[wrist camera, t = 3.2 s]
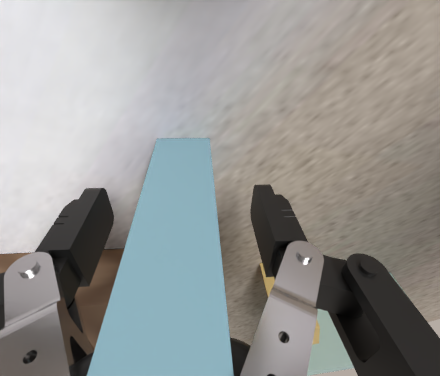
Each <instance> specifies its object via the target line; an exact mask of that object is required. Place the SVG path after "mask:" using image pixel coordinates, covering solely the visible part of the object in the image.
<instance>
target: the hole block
mask: <svg viewBox="0 0 440 376" xmlns="http://www.w3.org/2000/svg"><path fill="white" fill-rule="evenodd" d="M123 252H124V249H109V250H103V252H102V255H101V257H100V260H99V262H98V265H97V268H96V270H95V273H94V275H93V278H92V281H91V283H90V286H89V287H78V289H77V292H76V294H75V296H76V297H77V300H78V304H79V308H80V311H81V315H82V319H83V323H84V326H85V330H86V334H87V337H88V340H89V343H90V345H91V347H92V349H93V352H94V350H95V346H96V343H97V340H98V336H99V333H100V330H101V326H102V323H103V320H104V316H105V313H106V309H107V306H108V303H109V299H110V296H111V293H112V289H113V286H114V282H115V279H116V276H117V272H118V269H119V266H120V262H121V259H122V255H123ZM28 254H31V253H17V254H0V273H4V272H6V271H7V269H8V268H9V267H10V266H11V265H12V264H13V263H14V262H15V261H16V260H18V259H19V258H21V257H23V256H25V255H28Z"/></svg>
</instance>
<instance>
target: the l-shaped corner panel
mask: <svg viewBox="0 0 440 376" xmlns="http://www.w3.org/2000/svg"><path fill="white" fill-rule="evenodd" d="M389 273H390V272H389ZM390 275H391V276H392V274H391V273H390ZM392 277H393V276H392ZM393 278H394V277H393ZM394 280H395V279H394ZM395 281H396V280H395ZM396 282H397V281H396ZM397 284H398V283H397ZM398 285H399V284H398ZM399 286H400V285H399ZM400 288H401V287H400ZM401 289H402V288H401ZM402 290H403V289H402ZM404 293H405V292H404ZM407 297H408V296H407ZM317 321H318V324H319V326H320V335H319V343H318V344H313V345H312V349H311V355H310V360H309V366H308V372H307V376H309V375H315V374H321V373H327V372H334V371H339V370H346V369H352V368H354V366H353V364H352V362H351V360H350V358H349V355H348V353H347V351H346V349H345V347H344V345H343V343H342V341H341V339H340V336H339V334H338V332H337V330H336V328H335V326H334V324H333V322H332V319H331V317H330V315H329V313H328V311H324V310H321V309H318V314H317Z"/></svg>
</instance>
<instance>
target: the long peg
mask: <svg viewBox="0 0 440 376" xmlns="http://www.w3.org/2000/svg"><path fill="white" fill-rule="evenodd" d="M87 376H234V374H233V364H232V354H231V344H230V335H229V325H228V315H227V305H226V296H225V286H224V276H223V266H222V256H221V247H220V237H219V227H218V217H217V208H216V198H215V188H214V178H213V169H212V159H211V149H210V139H209V138H167V139H157V141H156V144H155V148H154V151H153V154H152V158H151V161H150V164H149V168H148V171H147V175H146V178H145V181H144V185H143V188H142V191H141V195H140V198H139V202H138V205H137V208H136V212H135V215H134V218H133V222H132V225H131V229H130V232H129V235H128V239H127V242H126V245H125V249H124V252H123V255H122V259H121V262H120V266H119V269H118V272H117V276H116V279H115V282H114V286H113V289H112V293H111V296H110V299H109V303H108V306H107V309H106V313H105V316H104V320H103V323H102V326H101V330H100V333H99V336H98V340H97V343H96V346H95V350H94V353H93V357H92V360H91V363H90V367H89V370H88V373H87Z"/></svg>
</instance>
